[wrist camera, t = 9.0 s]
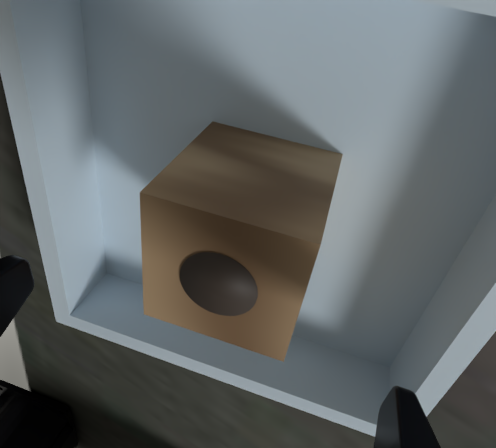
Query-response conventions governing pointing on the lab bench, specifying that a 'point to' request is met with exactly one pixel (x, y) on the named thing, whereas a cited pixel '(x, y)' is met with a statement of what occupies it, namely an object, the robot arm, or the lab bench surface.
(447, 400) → the lab bench surface
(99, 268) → the sorting tray
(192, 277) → the walnut block
